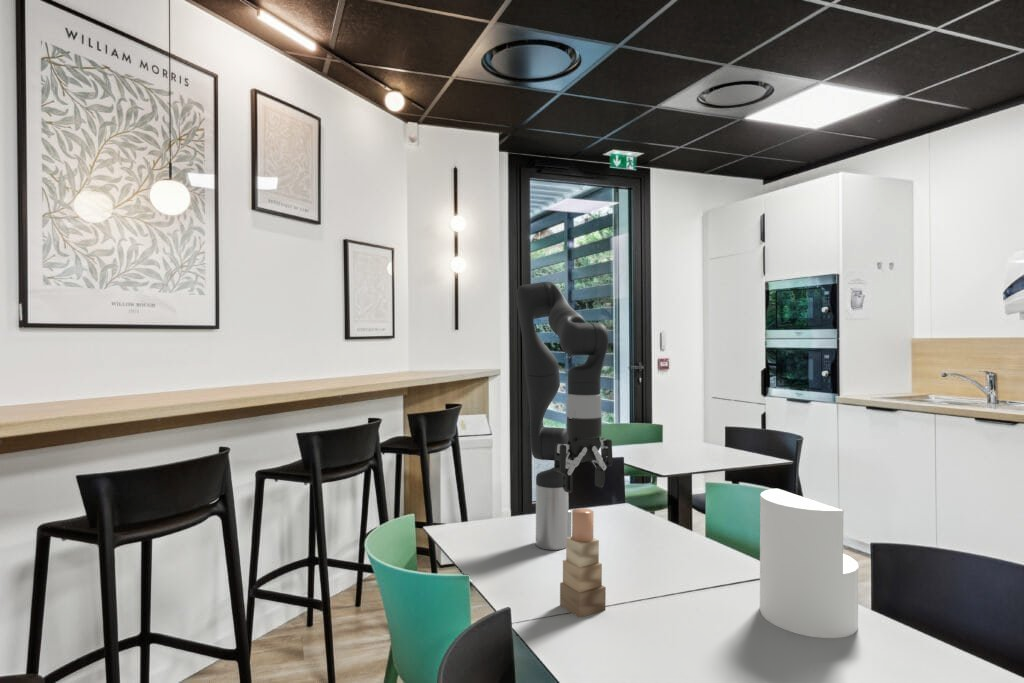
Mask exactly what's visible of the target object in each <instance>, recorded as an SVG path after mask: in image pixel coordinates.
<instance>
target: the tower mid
mask: <svg viewBox="0 0 1024 683" xmlns="http://www.w3.org/2000/svg"><path fill="white" fill-rule="evenodd" d="M602 576H603V563H601V562H599V563H598V564H594V565H589V566H585V567H581V568H580V567H578V566H576V565H574V564H572V563H570V562H568V561H566V559H563V560H562V582H563V583H564V584H566V585H567V586H569V587H571V588H572V589H574V590H576V591H578V592H579V593H580V592H584V591H588V590H591V589H595V588H599V587H602V586H603V582H602V581H603V577H602Z"/></svg>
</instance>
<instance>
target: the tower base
mask: <svg viewBox="0 0 1024 683" xmlns="http://www.w3.org/2000/svg"><path fill="white" fill-rule="evenodd" d="M606 598H607V597H606V586H604V585H602V587H599V588H595V589H591V590H588V591H584V592H580V593H579V592H578V591H576V590H574V589H572V588H571V587H569V586H567V585H566V584H564V583H563V581H561V582H559V605H560V606H561V607H562V608H564V609H565V610H567V611H569V612H570V613H571V614H573V615H575V616H577V618H583V617H586V616H589V615H593V614H597V613H601V612H603V611H606Z"/></svg>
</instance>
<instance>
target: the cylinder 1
mask: <svg viewBox="0 0 1024 683" xmlns="http://www.w3.org/2000/svg"><path fill="white" fill-rule="evenodd" d="M571 537H572V539H573V540H574V541H577V542H591V541H593V538H594V510H592V509H589V508H574V509H572V511H571Z"/></svg>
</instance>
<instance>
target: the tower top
mask: <svg viewBox="0 0 1024 683" xmlns="http://www.w3.org/2000/svg"><path fill="white" fill-rule="evenodd" d="M599 542H600V541H599V539H597V538H595V537H593V541H591V542H577V541H574V540H573V539H572V536H571V537H567V538H566V548H565V550H566V551H565V552H566V553H565V555H566V556H565V560H566V561H568V562H570V563H572V564H574V565H576V566H578V567H580V568H581V567H585V566H589V565H594V564H598V563H600V561H599V559H600V558H599V556H600V555H599V554H600V553H599V552H600V551H599V547H600V546H599Z"/></svg>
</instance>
